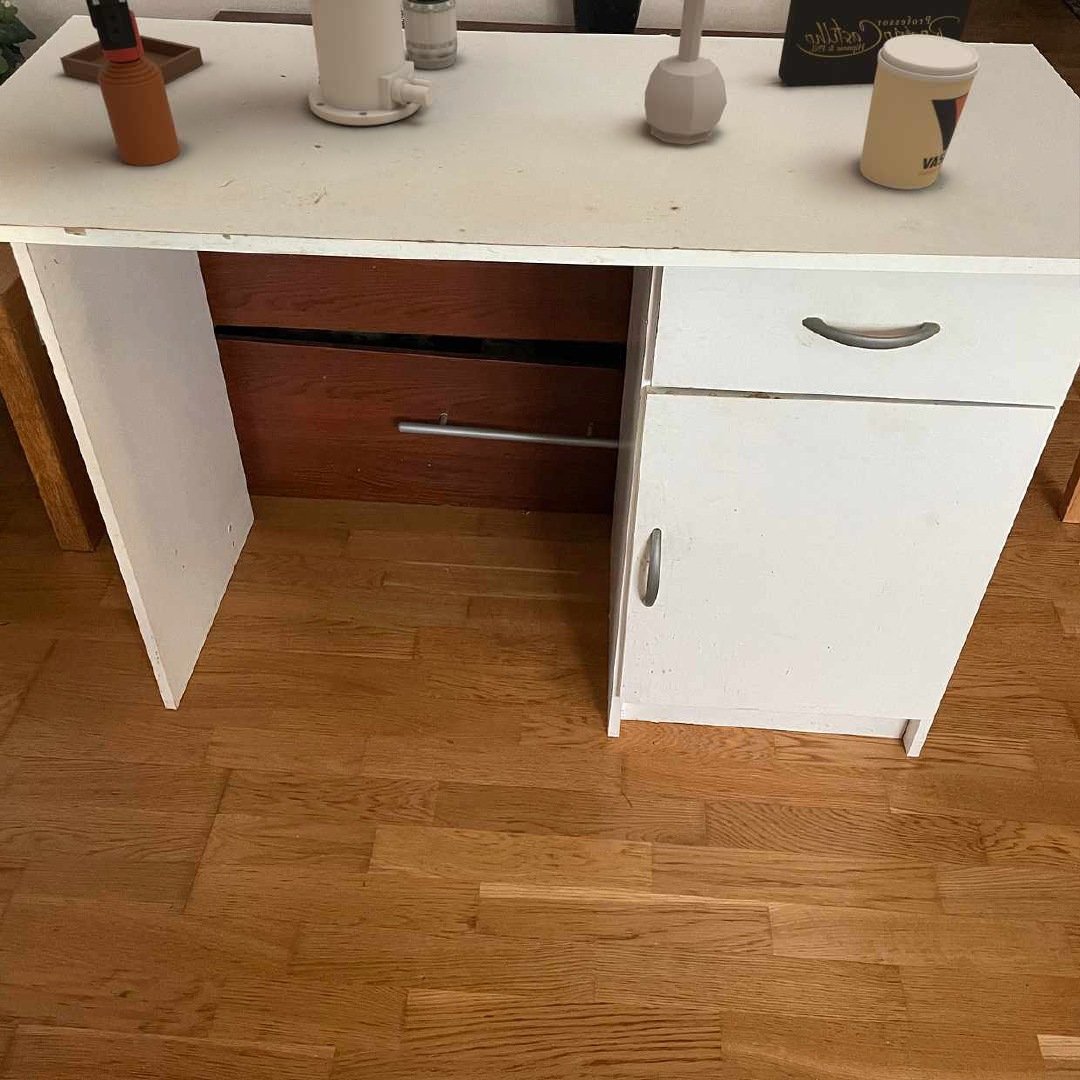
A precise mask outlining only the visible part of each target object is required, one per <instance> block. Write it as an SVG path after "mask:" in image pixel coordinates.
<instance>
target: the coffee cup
mask: <svg viewBox="0 0 1080 1080" xmlns="http://www.w3.org/2000/svg"><path fill="white" fill-rule="evenodd" d="M980 65H981V64H980V56H979V53H978V51H977V50H976V49H975V48H974V47H972V46H971V45H968V44H967V43H964V42H962V41H961V40H960V41H957V40H953V39H950V38H945V37H940V36H933V35H903V36H897V37H894V38H891V39H890V40H888V41H887V42H886V43H885V44H884V45H883V48H881V49H880V51H879V53H878V66H877V71H876V76H875V81H874V83H873V87H872V94H871V99H870V105H869V110H868V115H867V120H866V121H867V122H866V127H865V133H864V140H863V144H862V145H863V146H862V151H861V156H860V157H861V158H860V164H859V170H860V173H861V174H862V176H863V177H864V178H865V179H867V180H868V181H870V182H872V183H874V184H877V185H879V186H882V187H885V188H890V189H896V190H906V191H907V190H910V191H911V190H920V189H925V188H927V187H930V186H931V185H933V183H935V181H936V180H937V178H938V175H939V172H940V170H941V169H942V165H943V162H944V160H945V157H946V155H947V152H948V149H949V147H950V144H951V142H952V139H953V136H954V134H955V131H956V129H957V126H958V123H959V120H960V118H961V115H962V112H963V110H964V107H965V104H966V102H967V99H968V96H969V93H970V92H971V91H970V90H971V88H972V85H973V82H974V79H975V76H977V74H978V73H979V70H980Z"/></svg>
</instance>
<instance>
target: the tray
mask: <svg viewBox="0 0 1080 1080" xmlns="http://www.w3.org/2000/svg"><path fill="white" fill-rule="evenodd" d="M139 35H140V34H139ZM140 39H141V43H142V47H143V51H144V55H143V57H145V58H146V59H148V60H150V61H151V62H153V63H155V64H156V65H157V66H158V68H160V70H161V73H162V77H163V81H164V85H167V84H169V83H171V82H172V81H175V80H177V79H178V78H181V77H183V76H184V75H187V74H188V73H190V72H192V71H194V70H196V69H198V68H200V67H202V66H204V62H203V56H202V53H201V48H200V47H198V46H194V45H188V44H184V43H179V42H174V41H171V40H165V39H161V38H155V37H151V36H150V37H149V36H146V35H140ZM106 61H107V59H105V57H104V54H103V50H102V47H101V44H100V41H99V40H98V41H95V42H93V43H91V44H89V45H86V46H84V47H81V48H80V49H77V50H75V51H73V52H71V53H68V54H66V55H64V56H61V57H60V62H61V66H62V70H63V72H64V76H66V77H71V78H75V79H79V80H83V81H88V82H92V83H97V84H99V81H98V74H99V70H100V69H101V68H102V66H103V65H104V64H105V63H106Z"/></svg>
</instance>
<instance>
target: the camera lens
mask: <svg viewBox="0 0 1080 1080" xmlns="http://www.w3.org/2000/svg"><path fill="white" fill-rule="evenodd" d="M401 3H402V14H403V17H402V18H403V27H404V39H405V47H406V52H407V56H408V59H409V60H408V61H411V62H414V68H417V69H422V70H441V69H446V68H449V67H451V66H453V65H454V64H455V62H456V59H457V53H458V27H457V26H458V25H457V8H456V7H457V6H456V5H457V4H456V0H402V1H401Z"/></svg>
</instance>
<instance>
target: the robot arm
mask: <svg viewBox="0 0 1080 1080" xmlns="http://www.w3.org/2000/svg"><path fill="white" fill-rule="evenodd" d="M308 1H309V9H310V14H311V23H312V30H313V37H314V45H315V52H316V59H317V65H318V66H317V68H318V74H319V81H320V83H318V84H317V85H315V86H314V88H312V89H311V90H310V92H309V94H308V104H309V107H310V110H311V112H312V113H313V114H314V115H315V116H318V117H319V118H320V119H323V120H325V121H327V122H329V123H335V124H339V125H345V126H347V125H348V126H378V125H384V124H388V123H392V122H397V121H399V120H403V119H405V118H408V117H409V116H412V115H413V114H414V113H416V111H417V110H419V109H420V107H421V106H424V107H428V108H429V107H432V105H433V104H434V100H435V89H436V83H435V81H434V80H432V79H426V78H418V77H417V75H416V74H415V66H414V62H411V61H410V60H407V59H406V57H405V54H406V53H405V43H404V31H403V17H402V7H401V0H308ZM85 3H86V7H87V10H88V13H89V18H90V22H91V25H92V27H93V28H94V29H95V30H96V33H97V36H98V41H100V44H101V47H102V49H103V50H105V51H109V50H118V49H127V48H134V47H136V46H137V40H136V36H135V32H134V28H133V24H132V19H131V15H130V11H129V10H130V7H129V4H128V0H85Z"/></svg>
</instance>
